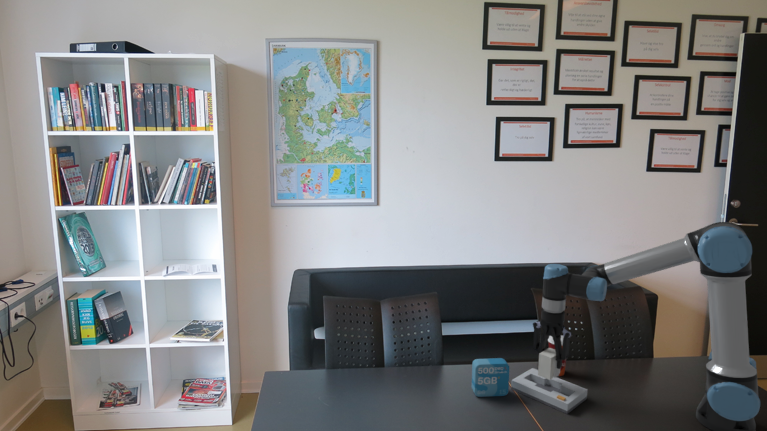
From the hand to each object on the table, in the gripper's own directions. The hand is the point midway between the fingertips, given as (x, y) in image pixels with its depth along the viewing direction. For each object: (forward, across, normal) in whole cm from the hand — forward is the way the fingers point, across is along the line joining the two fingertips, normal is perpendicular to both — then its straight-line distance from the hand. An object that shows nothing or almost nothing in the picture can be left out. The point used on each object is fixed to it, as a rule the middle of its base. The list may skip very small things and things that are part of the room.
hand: (548, 373), depth 164 cm
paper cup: (+8, +6, -17) cm, 20 cm away
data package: (+8, +14, +15) cm, 22 cm away
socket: (+8, 0, 0) cm, 8 cm away
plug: (0, 0, -2) cm, 2 cm away
